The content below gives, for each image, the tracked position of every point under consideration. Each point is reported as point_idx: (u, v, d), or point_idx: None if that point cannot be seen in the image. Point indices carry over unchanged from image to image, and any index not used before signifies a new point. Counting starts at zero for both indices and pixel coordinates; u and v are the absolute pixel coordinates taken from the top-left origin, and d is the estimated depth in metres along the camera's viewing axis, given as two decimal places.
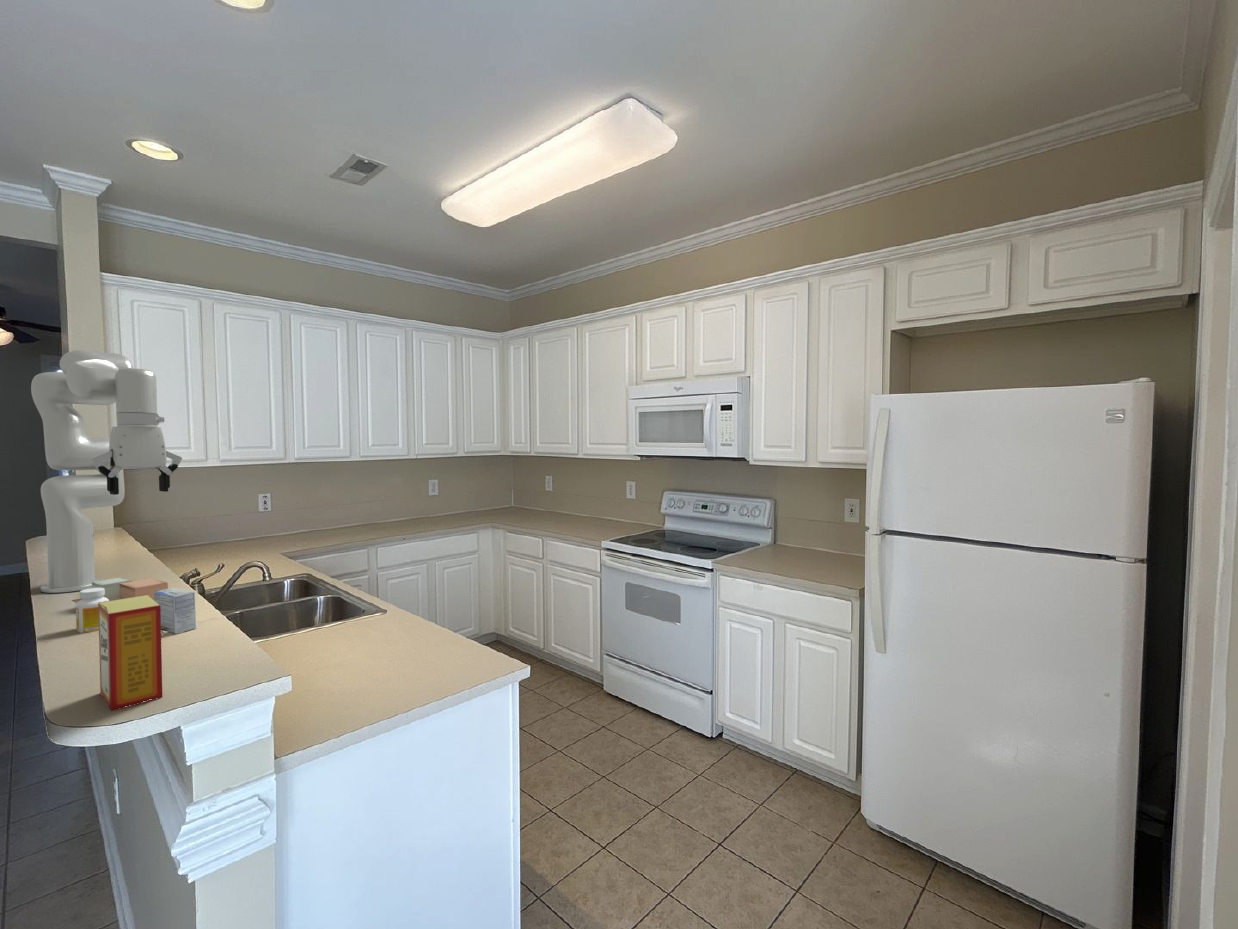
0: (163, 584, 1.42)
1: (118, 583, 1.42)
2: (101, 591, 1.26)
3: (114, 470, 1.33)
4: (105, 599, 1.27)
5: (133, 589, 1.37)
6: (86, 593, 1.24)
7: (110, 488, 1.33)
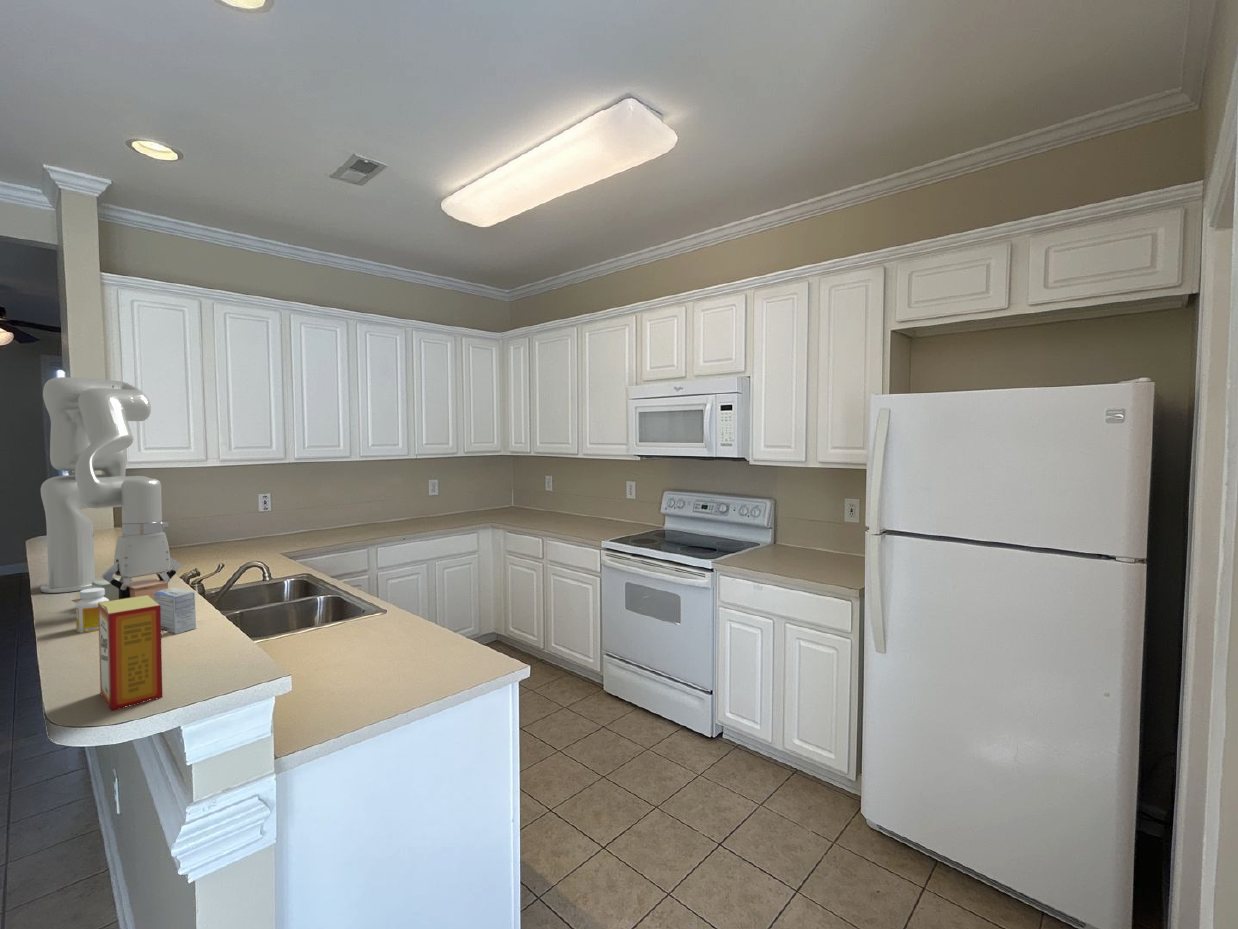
0: (163, 584, 1.42)
1: None
2: (101, 591, 1.26)
3: (124, 582, 1.37)
4: (105, 599, 1.27)
5: (133, 589, 1.37)
6: (86, 593, 1.24)
7: None
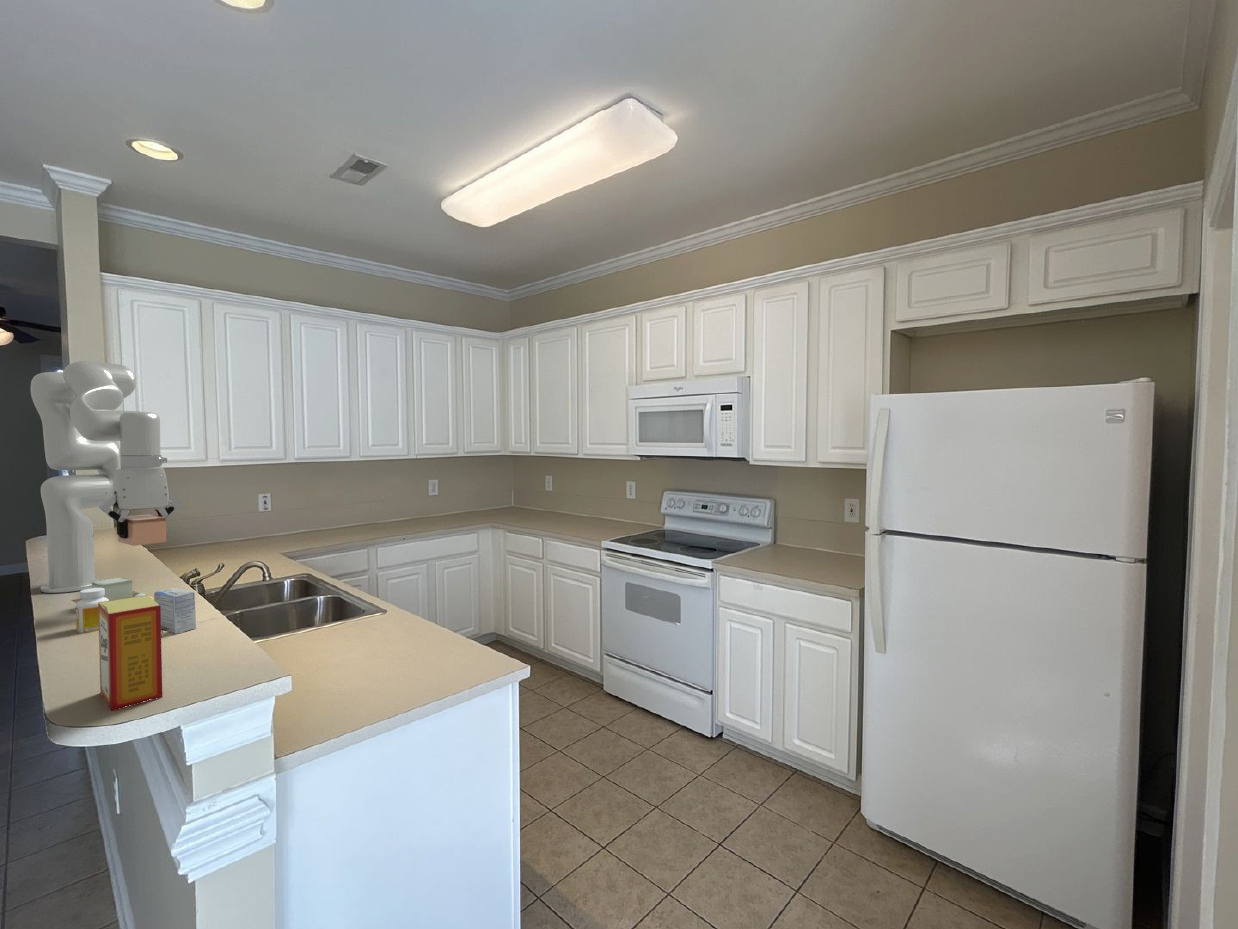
0: (161, 518, 1.41)
1: (118, 583, 1.42)
2: (101, 591, 1.26)
3: (122, 514, 1.37)
4: (105, 599, 1.27)
5: (131, 521, 1.36)
6: (86, 593, 1.24)
7: (120, 532, 1.37)
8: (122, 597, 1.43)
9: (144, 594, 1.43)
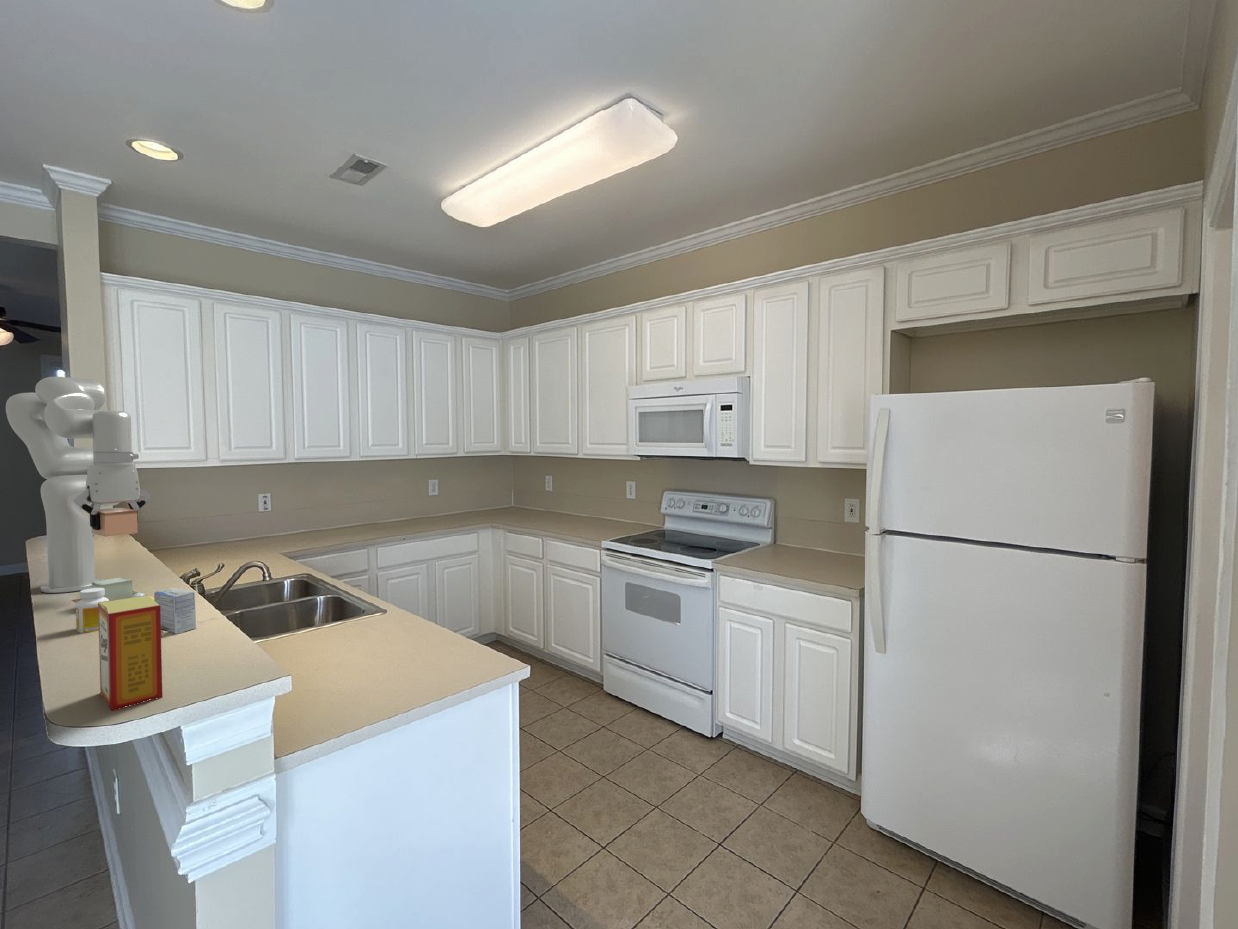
0: (132, 511, 1.49)
1: (118, 583, 1.42)
2: (101, 591, 1.26)
3: (95, 507, 1.45)
4: (105, 599, 1.27)
5: (103, 513, 1.45)
6: (86, 593, 1.24)
7: (92, 524, 1.46)
8: (122, 597, 1.43)
9: None
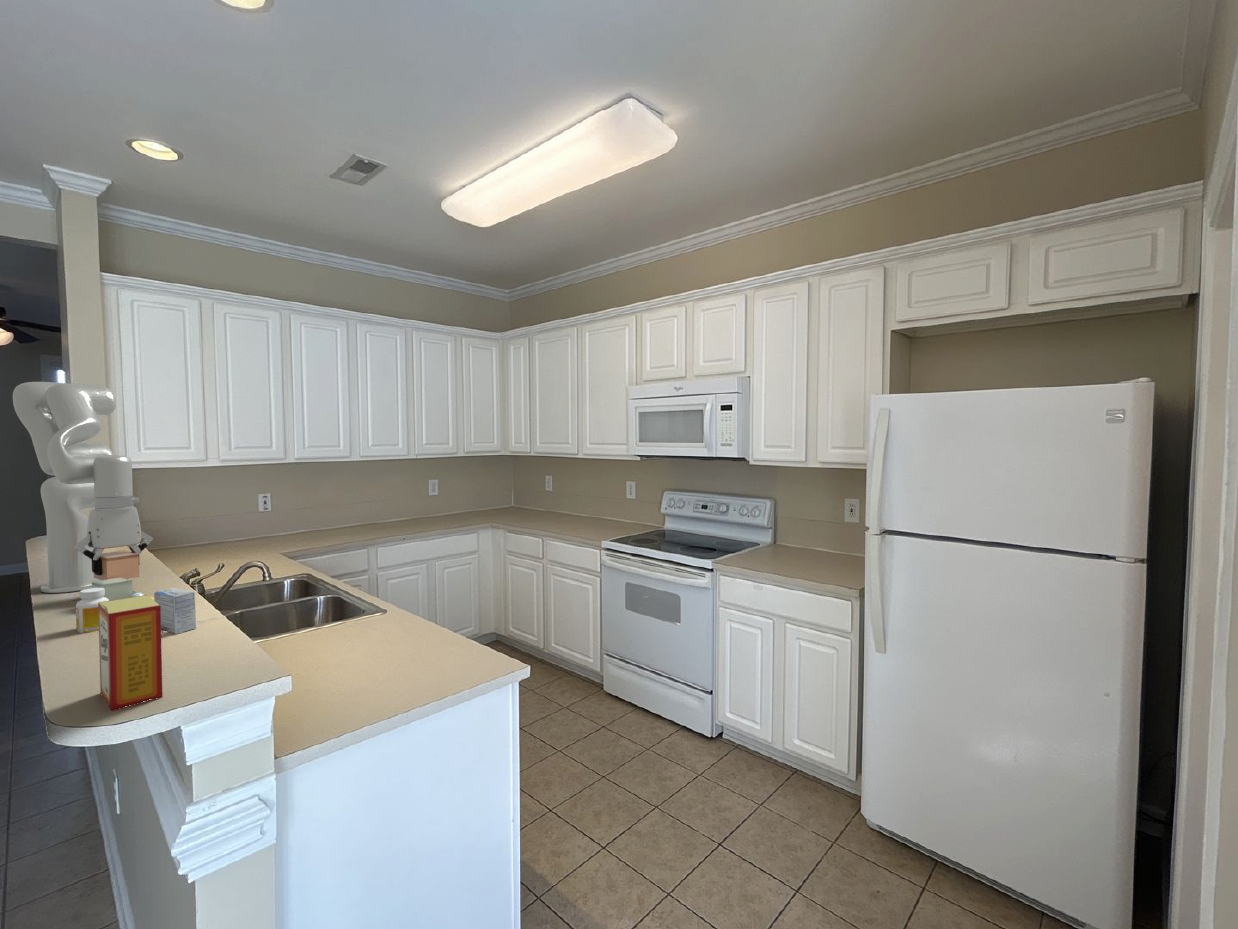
0: (134, 555, 1.50)
1: (118, 583, 1.42)
2: (101, 591, 1.26)
3: (97, 553, 1.46)
4: (105, 599, 1.27)
5: (105, 559, 1.45)
6: (86, 593, 1.24)
7: (94, 570, 1.46)
8: (122, 597, 1.43)
9: None
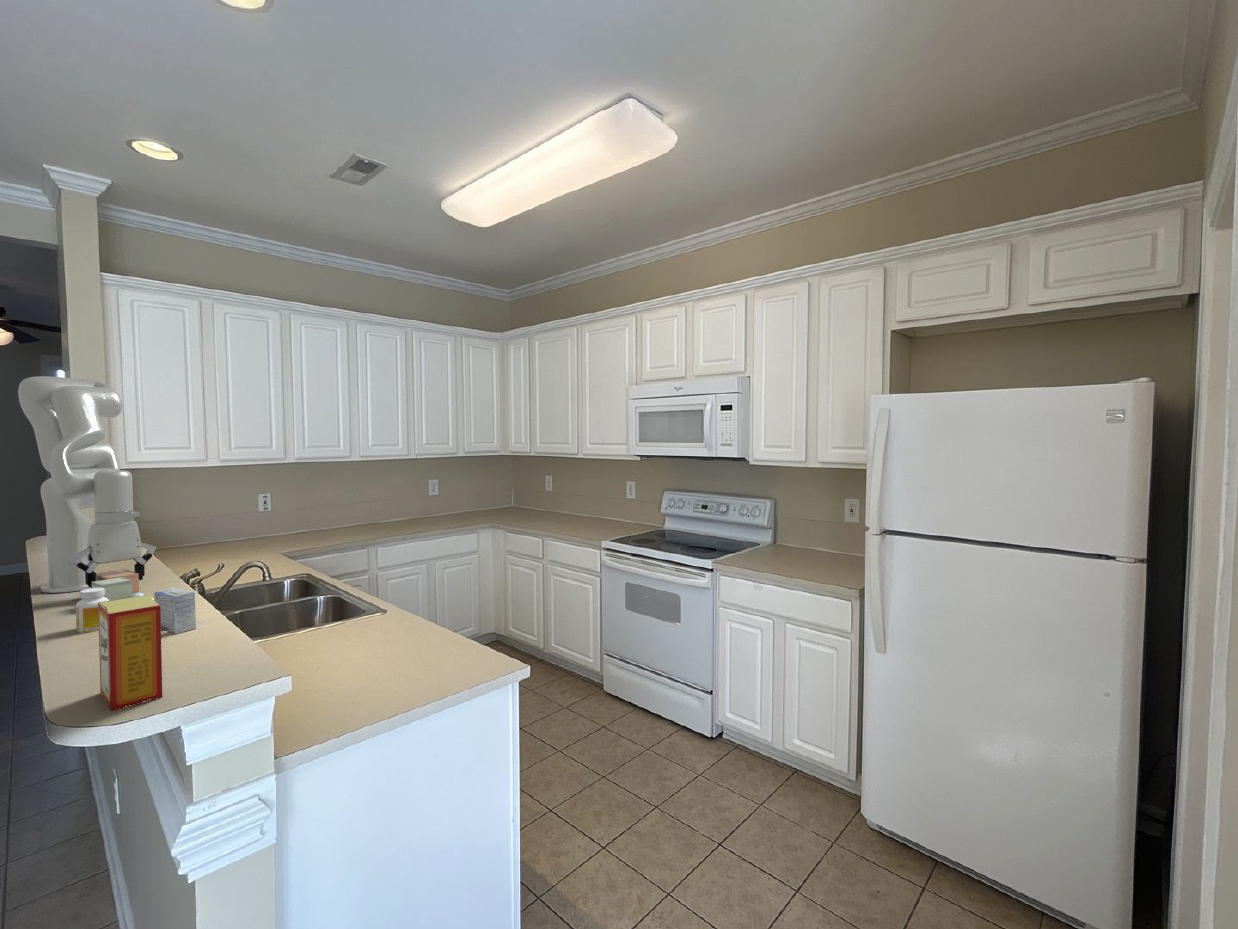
0: (134, 575, 1.50)
1: (118, 583, 1.42)
2: (101, 591, 1.26)
3: (92, 566, 1.45)
4: (105, 599, 1.27)
5: (105, 579, 1.46)
6: (86, 593, 1.24)
7: (88, 582, 1.45)
8: (122, 597, 1.43)
9: None
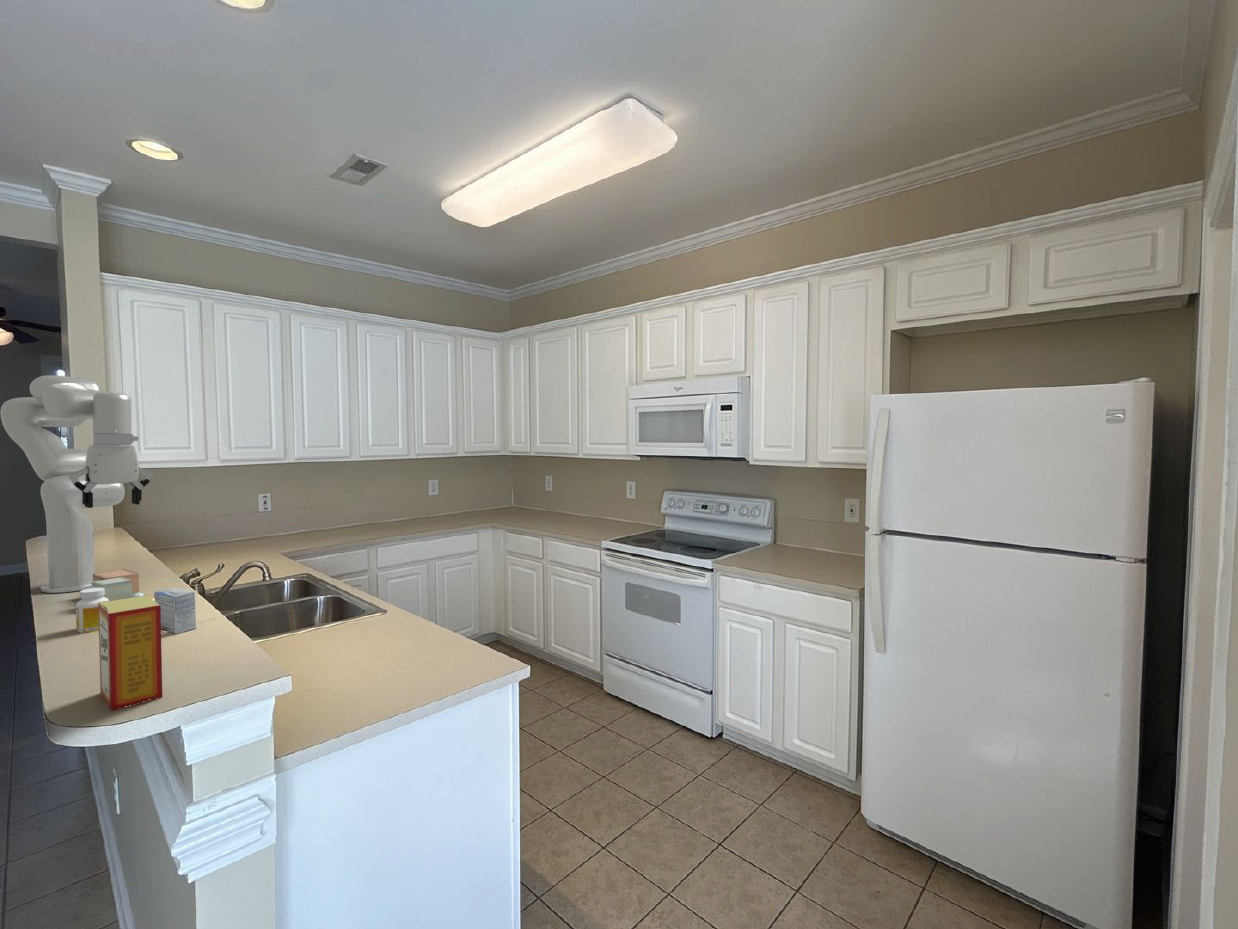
0: (134, 575, 1.50)
1: (118, 583, 1.42)
2: (101, 591, 1.26)
3: (89, 486, 1.46)
4: (105, 599, 1.27)
5: (105, 579, 1.46)
6: (86, 593, 1.24)
7: (85, 502, 1.46)
8: (122, 597, 1.43)
9: (140, 593, 1.45)
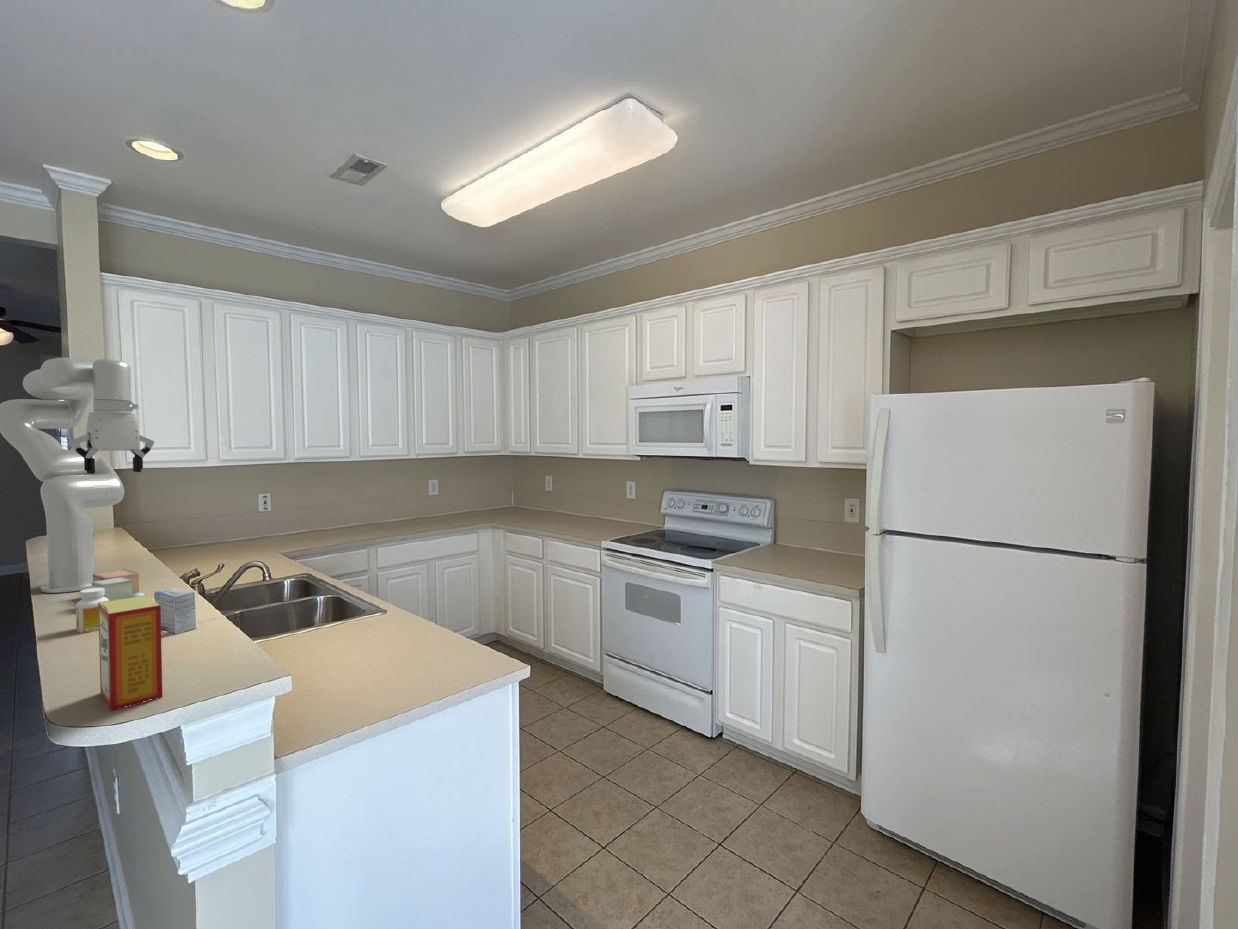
0: (134, 575, 1.50)
1: (118, 583, 1.42)
2: (101, 591, 1.26)
3: (91, 451, 1.47)
4: (105, 599, 1.27)
5: (105, 579, 1.46)
6: (86, 593, 1.24)
7: (87, 468, 1.47)
8: (122, 597, 1.43)
9: (140, 593, 1.45)
